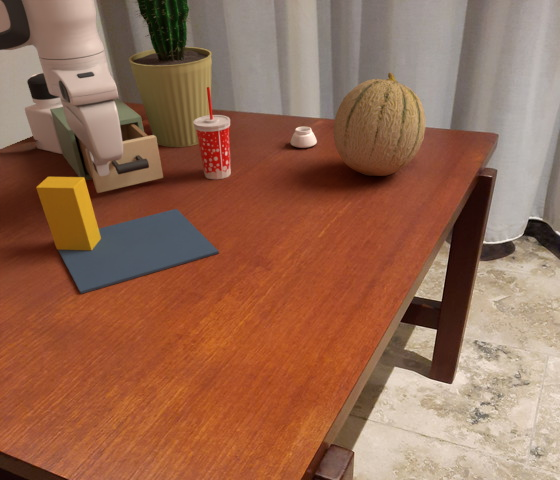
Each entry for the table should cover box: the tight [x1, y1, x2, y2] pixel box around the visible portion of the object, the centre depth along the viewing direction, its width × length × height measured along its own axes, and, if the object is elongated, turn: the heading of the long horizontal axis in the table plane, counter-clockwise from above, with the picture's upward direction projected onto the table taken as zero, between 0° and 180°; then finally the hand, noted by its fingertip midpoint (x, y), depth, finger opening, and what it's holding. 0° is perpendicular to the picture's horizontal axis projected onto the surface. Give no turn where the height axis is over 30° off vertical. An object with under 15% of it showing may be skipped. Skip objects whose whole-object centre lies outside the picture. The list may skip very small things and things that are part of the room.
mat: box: [53, 208, 220, 295], centre depth 78 cm, size 19×16×1 cm
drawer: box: [74, 123, 164, 194], centre depth 93 cm, size 18×11×7 cm, turn 29°
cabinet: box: [50, 97, 145, 181], centre depth 101 cm, size 15×13×9 cm
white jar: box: [289, 126, 318, 149], centre depth 106 cm, size 5×3×5 cm
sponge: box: [36, 176, 101, 251], centre depth 76 cm, size 4×5×9 cm
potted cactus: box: [128, 0, 213, 148], centre depth 103 cm, size 15×15×30 cm
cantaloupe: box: [333, 72, 426, 177], centre depth 90 cm, size 15×15×15 cm
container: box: [24, 72, 63, 155], centre depth 107 cm, size 8×8×13 cm
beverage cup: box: [193, 87, 232, 180], centre depth 93 cm, size 6×6×14 cm
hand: (102, 173), depth 87 cm, fingers closed
